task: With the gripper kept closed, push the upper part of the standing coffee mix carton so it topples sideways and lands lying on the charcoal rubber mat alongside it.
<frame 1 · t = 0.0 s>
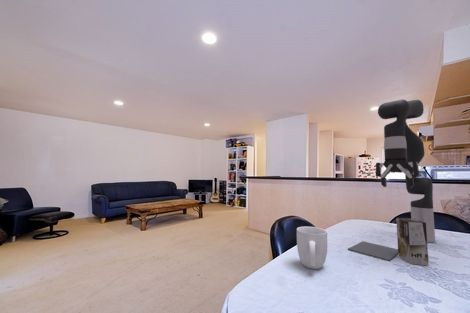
hand: (397, 187, 88), 29 cm above the table, fingers open, 8 cm apart
mug: (312, 267, 79), on the table
mat: (374, 250, 97), on the table
coffee box: (412, 260, 86), on the table
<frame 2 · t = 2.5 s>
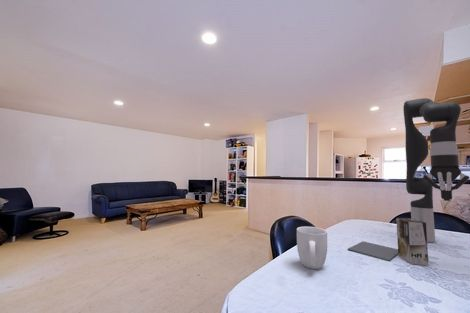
hand: (446, 200, 80), 25 cm above the table, fingers closed
nothing on the table moved.
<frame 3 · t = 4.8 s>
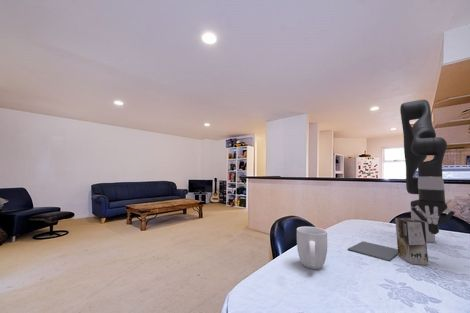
hand: (433, 233, 82), 12 cm above the table, fingers closed
coffee box: (412, 260, 86), on the table, touching gripper
everything else where it was.
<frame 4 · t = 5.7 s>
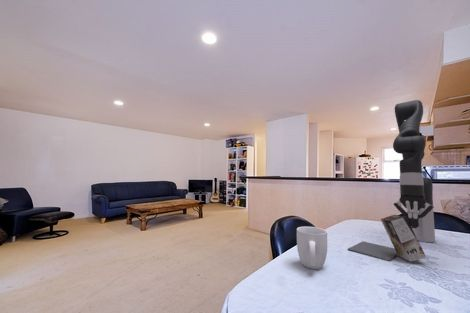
hand: (414, 228, 85), 13 cm above the table, fingers closed
coffee box: (411, 257, 86), point 1 cm above the table, touching gripper, hand
everything else where it was.
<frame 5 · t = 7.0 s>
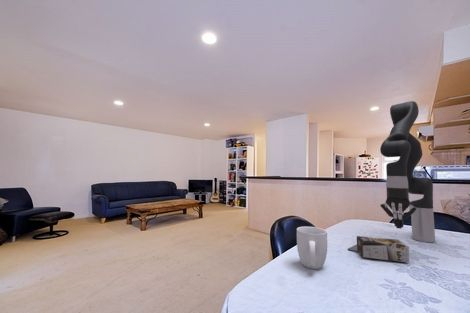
hand: (399, 227, 90), 12 cm above the table, fingers closed
coffee box: (404, 250, 87), point 4 cm above the table, touching mat
everything else where it was.
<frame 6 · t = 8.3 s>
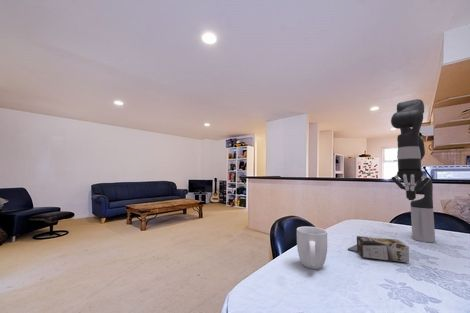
hand: (411, 200, 88), 24 cm above the table, fingers closed
nothing on the table moved.
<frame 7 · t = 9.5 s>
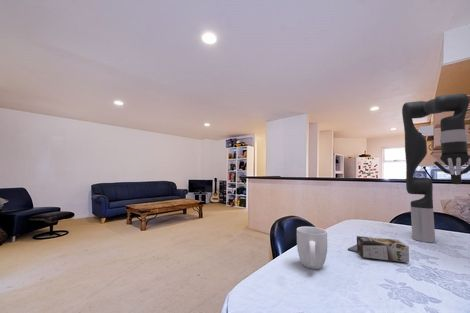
hand: (456, 184, 86), 31 cm above the table, fingers closed
nothing on the table moved.
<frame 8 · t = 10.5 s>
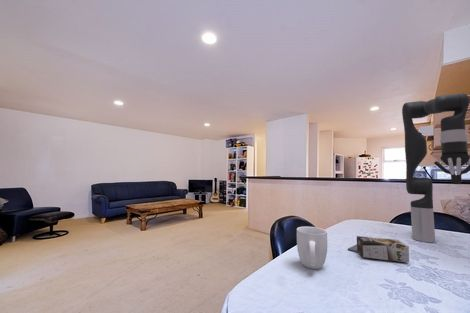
hand: (456, 184, 86), 31 cm above the table, fingers closed
nothing on the table moved.
at the end: coffee box tilted 90°; coffee box inside the target area (12.6 cm from its centre), point 3.8 cm above the table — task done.
